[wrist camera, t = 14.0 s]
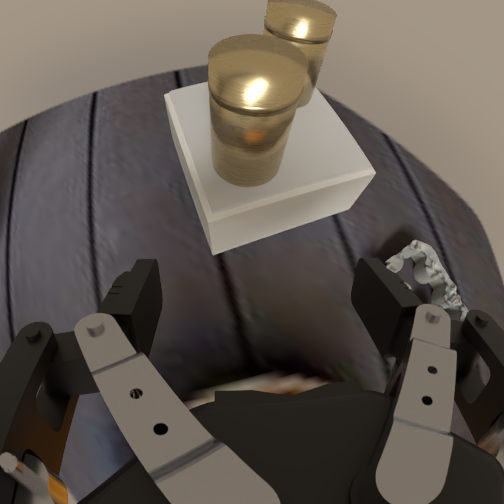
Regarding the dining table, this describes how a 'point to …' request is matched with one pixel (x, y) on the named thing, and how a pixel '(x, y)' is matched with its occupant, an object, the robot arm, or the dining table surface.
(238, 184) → the disc
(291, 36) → the cylinder
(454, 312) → the grey piece
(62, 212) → the dining table surface
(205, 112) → the scale
